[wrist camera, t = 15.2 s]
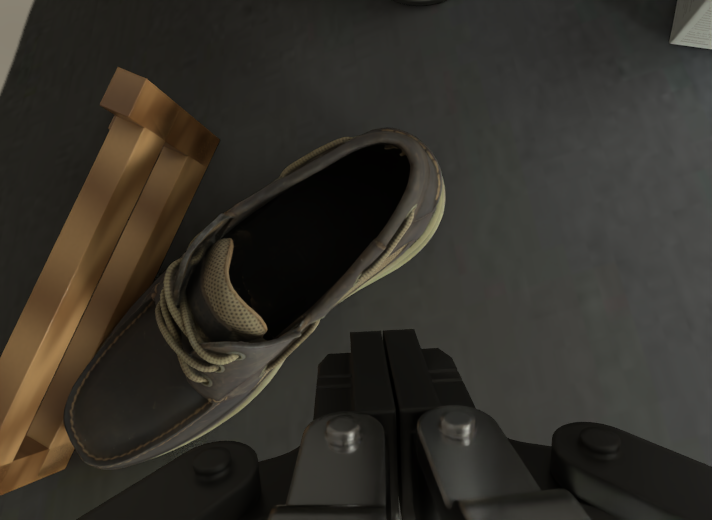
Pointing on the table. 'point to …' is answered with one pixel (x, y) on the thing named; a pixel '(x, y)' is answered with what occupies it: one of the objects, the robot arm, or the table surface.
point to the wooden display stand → (97, 268)
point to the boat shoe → (253, 295)
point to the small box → (692, 24)
